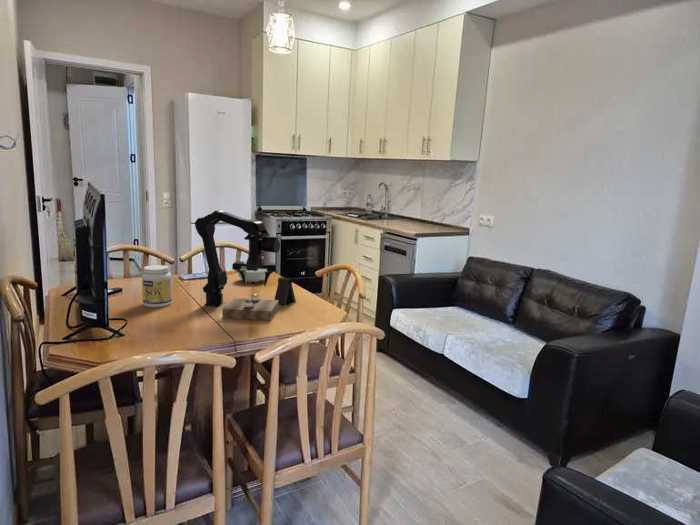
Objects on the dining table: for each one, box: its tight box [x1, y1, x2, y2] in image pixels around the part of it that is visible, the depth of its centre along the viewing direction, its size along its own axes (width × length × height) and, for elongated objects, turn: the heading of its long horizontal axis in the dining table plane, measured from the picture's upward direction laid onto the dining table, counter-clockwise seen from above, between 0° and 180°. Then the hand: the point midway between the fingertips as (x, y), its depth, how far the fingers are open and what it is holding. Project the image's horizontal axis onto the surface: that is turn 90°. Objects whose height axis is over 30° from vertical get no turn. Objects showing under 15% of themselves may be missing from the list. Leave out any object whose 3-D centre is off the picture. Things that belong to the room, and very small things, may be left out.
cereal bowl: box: [237, 269, 267, 283], centre depth 255 cm, size 17×17×7 cm
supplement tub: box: [141, 264, 173, 308], centre depth 204 cm, size 12×12×17 cm
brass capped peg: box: [250, 293, 259, 303], centre depth 201 cm, size 3×3×4 cm
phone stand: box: [273, 276, 297, 307], centre depth 214 cm, size 9×6×12 cm, turn 147°
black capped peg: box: [245, 300, 252, 309], centre depth 191 cm, size 3×3×4 cm
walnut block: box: [221, 297, 280, 321], centre depth 197 cm, size 20×17×4 cm
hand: (255, 285), depth 201 cm, fingers open, 8 cm apart
